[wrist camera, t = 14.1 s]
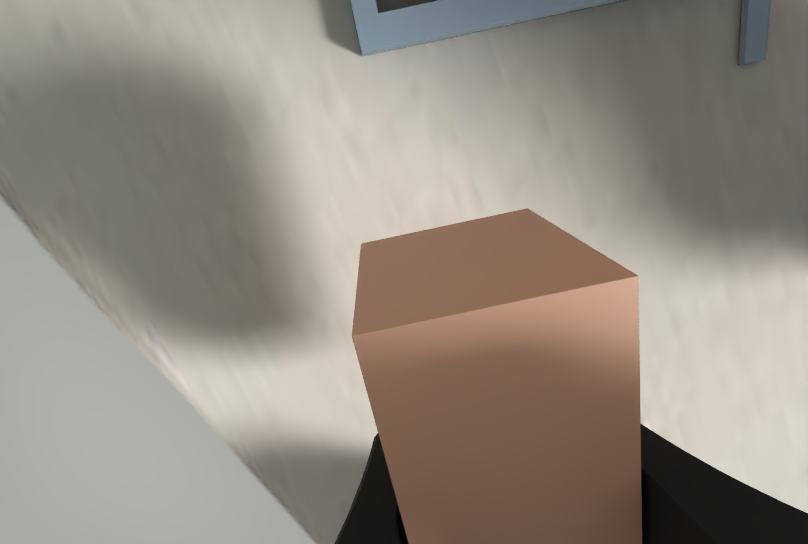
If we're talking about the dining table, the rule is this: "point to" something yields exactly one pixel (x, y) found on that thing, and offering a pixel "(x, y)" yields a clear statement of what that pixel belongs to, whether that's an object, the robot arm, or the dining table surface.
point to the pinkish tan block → (504, 382)
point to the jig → (506, 21)
